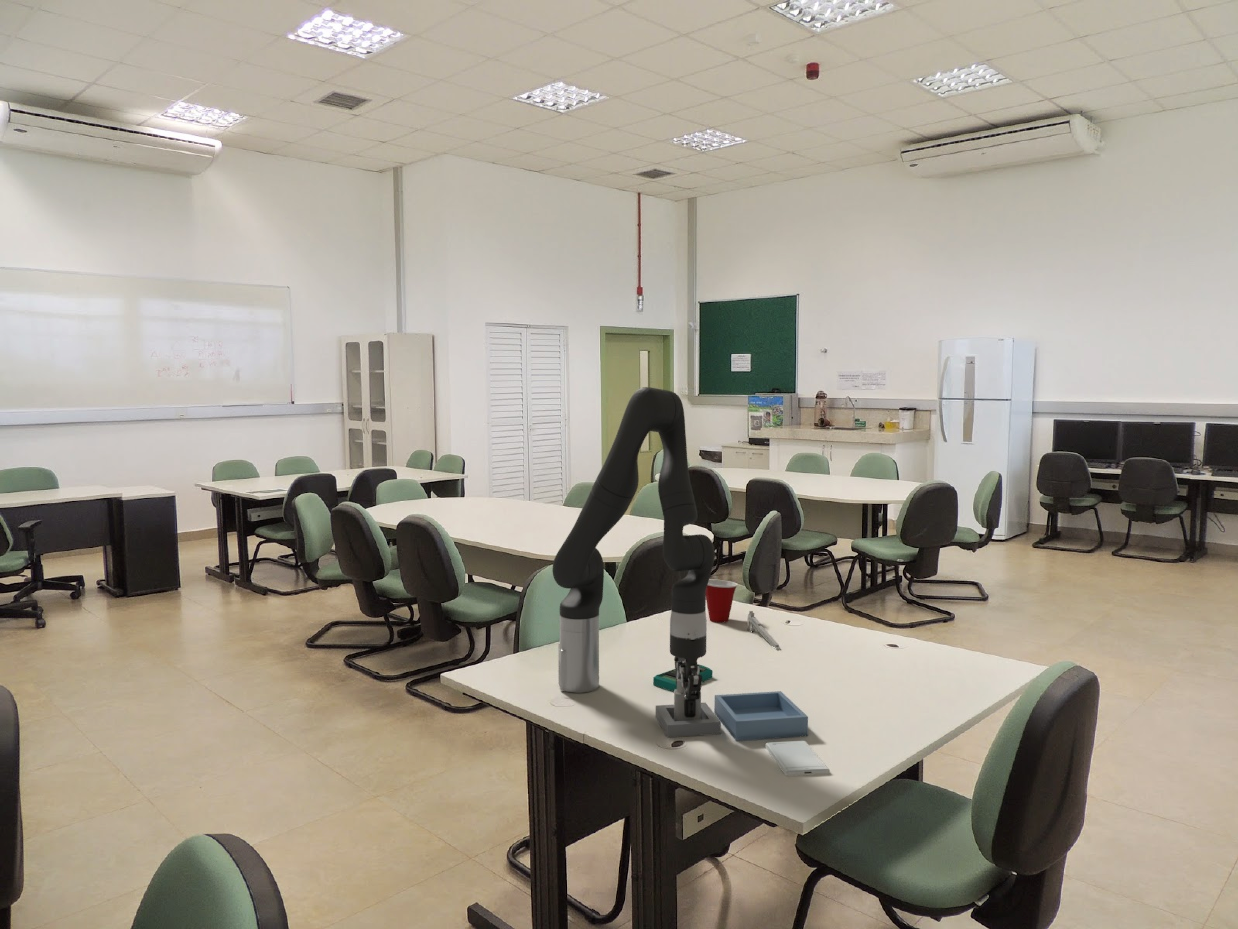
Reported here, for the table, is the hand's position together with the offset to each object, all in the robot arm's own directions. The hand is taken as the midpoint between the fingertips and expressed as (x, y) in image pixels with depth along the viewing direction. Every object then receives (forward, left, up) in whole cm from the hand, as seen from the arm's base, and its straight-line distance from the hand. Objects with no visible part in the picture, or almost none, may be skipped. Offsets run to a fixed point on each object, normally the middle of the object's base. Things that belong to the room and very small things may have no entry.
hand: (687, 712), depth 176 cm
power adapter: (0, 0, -3) cm, 3 cm away
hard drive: (+16, -20, -3) cm, 26 cm away
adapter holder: (0, 0, -3) cm, 3 cm away
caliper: (+37, +57, -3) cm, 68 cm away
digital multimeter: (+6, +27, -3) cm, 28 cm away
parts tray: (+15, -2, -3) cm, 15 cm away
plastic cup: (+31, +79, -3) cm, 85 cm away
